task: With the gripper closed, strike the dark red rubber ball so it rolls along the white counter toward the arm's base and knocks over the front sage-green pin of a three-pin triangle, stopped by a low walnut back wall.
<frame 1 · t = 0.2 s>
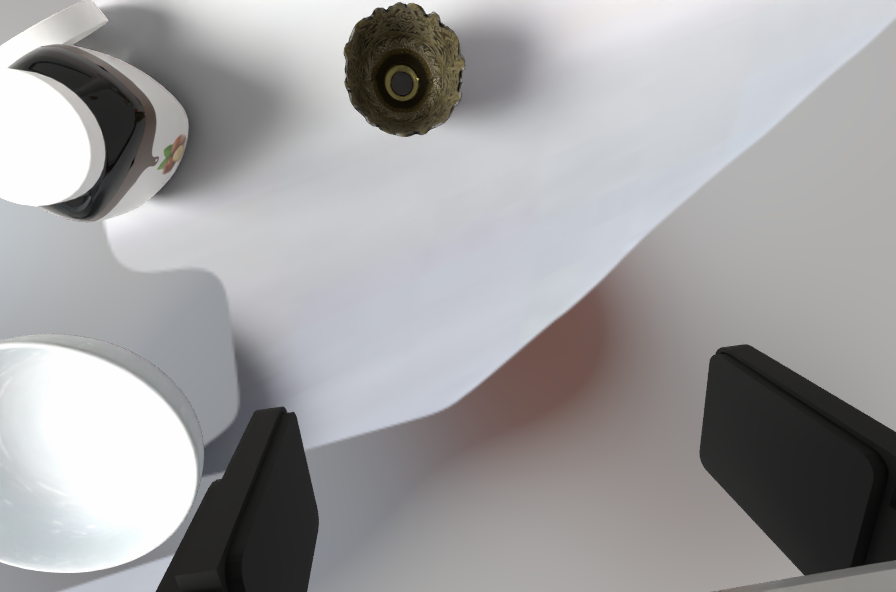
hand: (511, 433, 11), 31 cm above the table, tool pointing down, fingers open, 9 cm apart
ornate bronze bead: (401, 84, 36), on the table
serving bowl: (103, 416, 43), on the table
spread jar: (116, 110, 35), on the table
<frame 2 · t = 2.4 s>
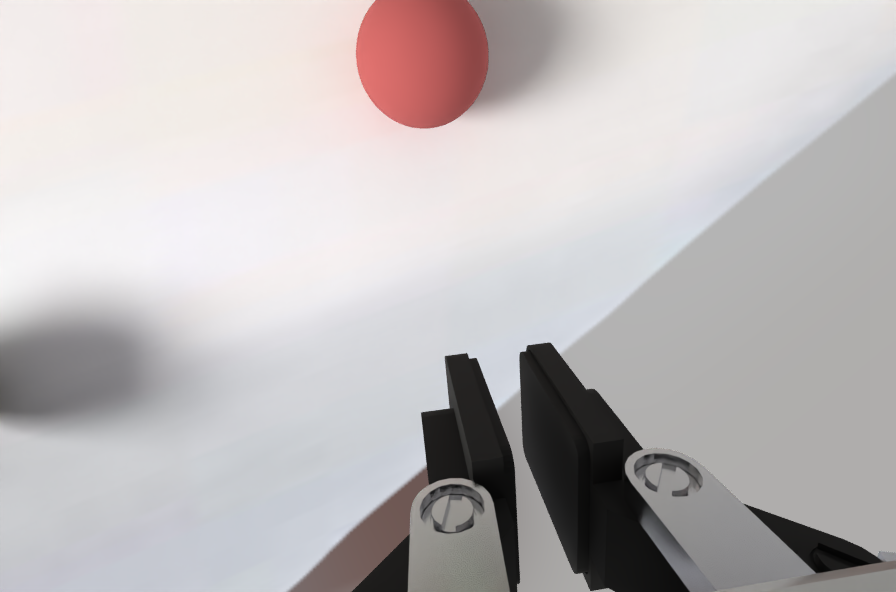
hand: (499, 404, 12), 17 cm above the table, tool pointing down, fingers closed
ball: (422, 58, 22), on the table
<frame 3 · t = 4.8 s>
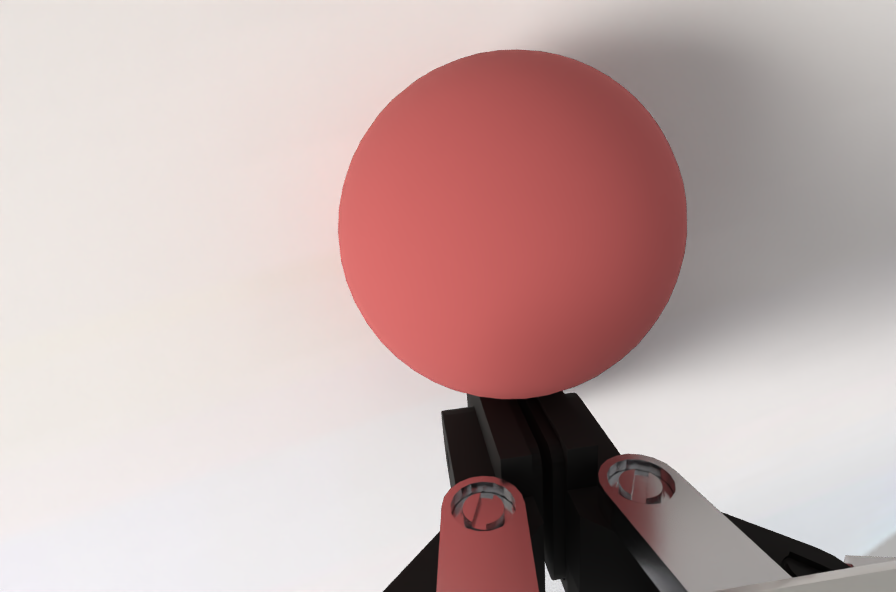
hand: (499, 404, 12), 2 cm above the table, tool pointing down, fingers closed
ball: (505, 232, 9), on the table
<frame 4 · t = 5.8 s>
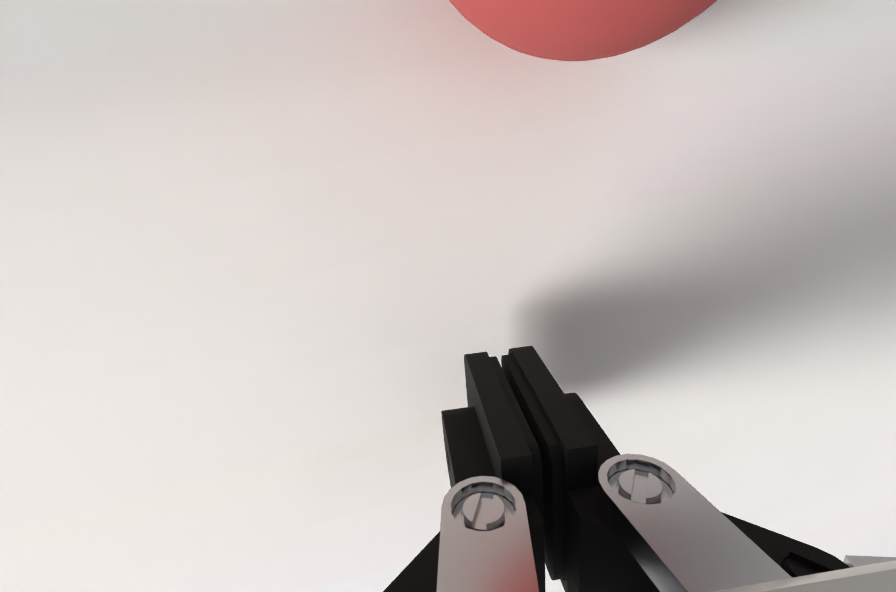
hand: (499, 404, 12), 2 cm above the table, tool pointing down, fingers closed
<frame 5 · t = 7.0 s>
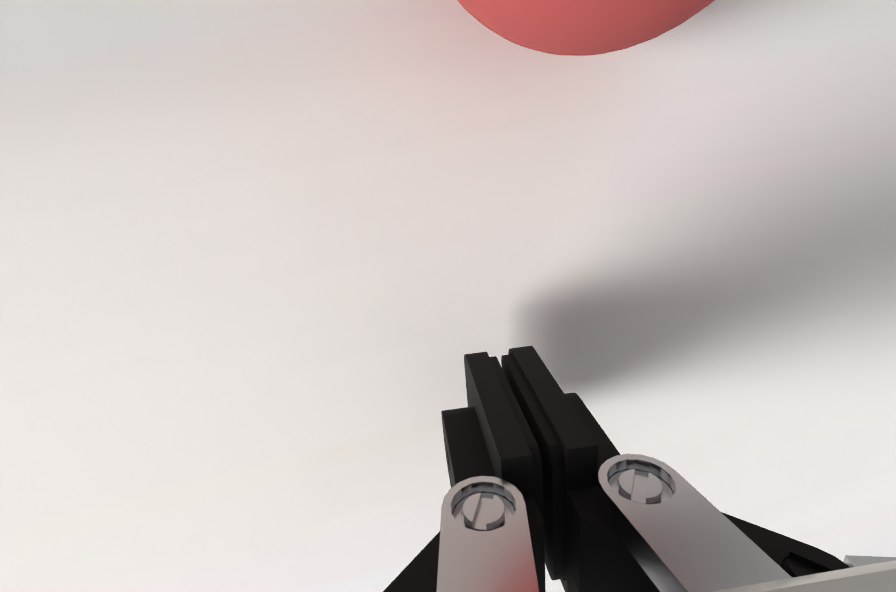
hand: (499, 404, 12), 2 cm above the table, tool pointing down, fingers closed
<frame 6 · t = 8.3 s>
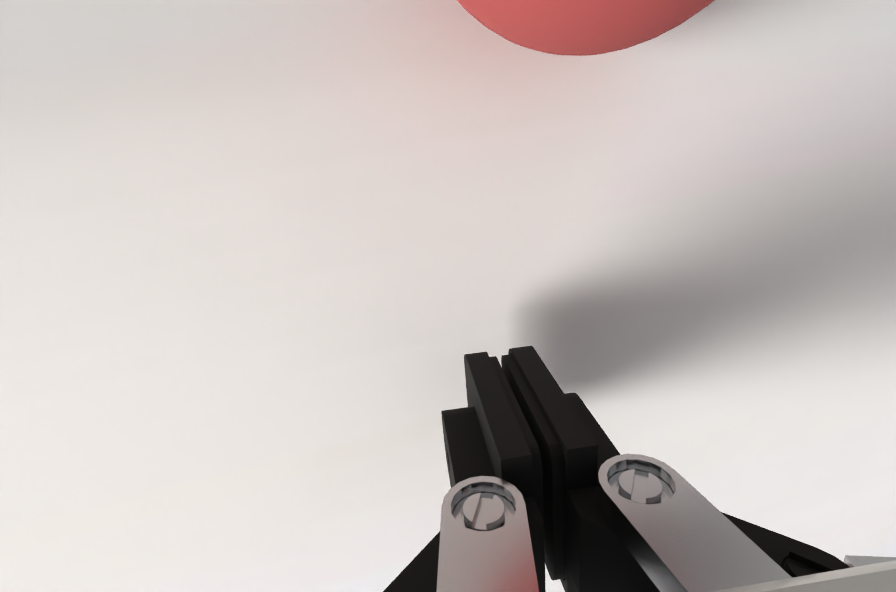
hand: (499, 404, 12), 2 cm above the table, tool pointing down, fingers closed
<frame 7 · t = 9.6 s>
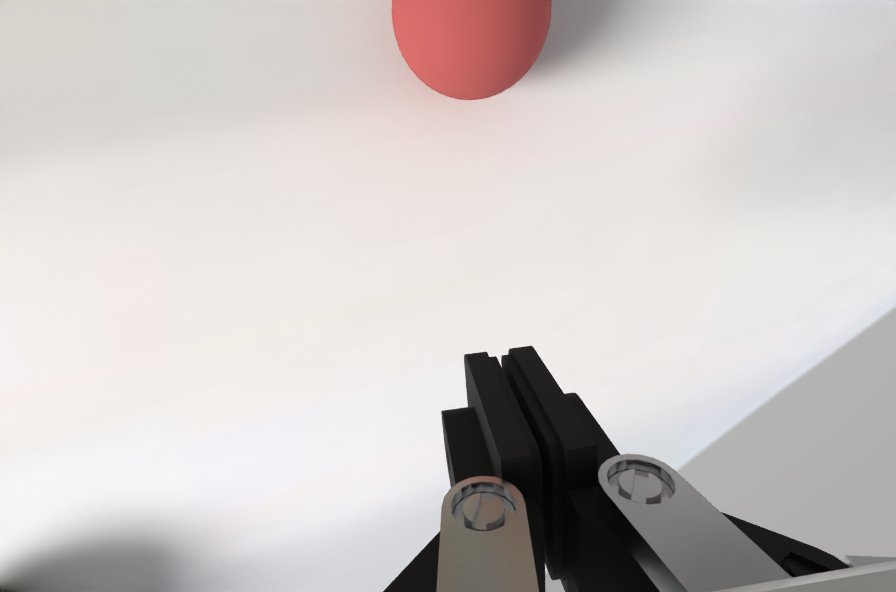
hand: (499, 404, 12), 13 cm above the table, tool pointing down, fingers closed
ball: (470, 15, 18), on the table
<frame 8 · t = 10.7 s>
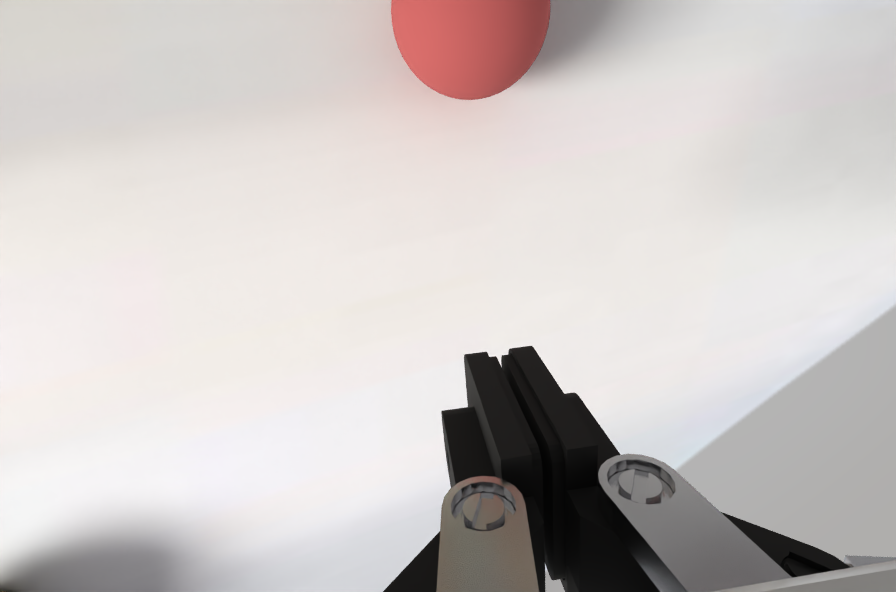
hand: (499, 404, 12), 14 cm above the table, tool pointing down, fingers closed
ball: (470, 14, 18), on the table
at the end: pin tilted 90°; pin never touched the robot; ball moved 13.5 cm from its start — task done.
